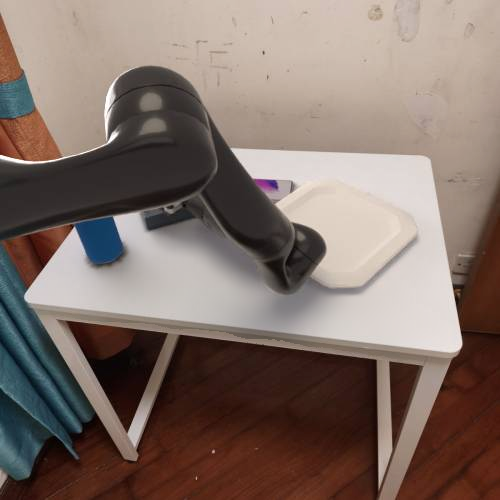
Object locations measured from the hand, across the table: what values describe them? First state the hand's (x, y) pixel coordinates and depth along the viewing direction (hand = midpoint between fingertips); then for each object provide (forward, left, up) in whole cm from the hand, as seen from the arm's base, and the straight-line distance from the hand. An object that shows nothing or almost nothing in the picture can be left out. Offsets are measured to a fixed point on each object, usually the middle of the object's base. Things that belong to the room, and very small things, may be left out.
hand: (169, 172), depth 84 cm
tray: (+1, +3, -9) cm, 10 cm away
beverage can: (-15, -7, -9) cm, 19 cm away
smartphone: (+17, -1, -9) cm, 19 cm away
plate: (+25, -19, -9) cm, 33 cm away
